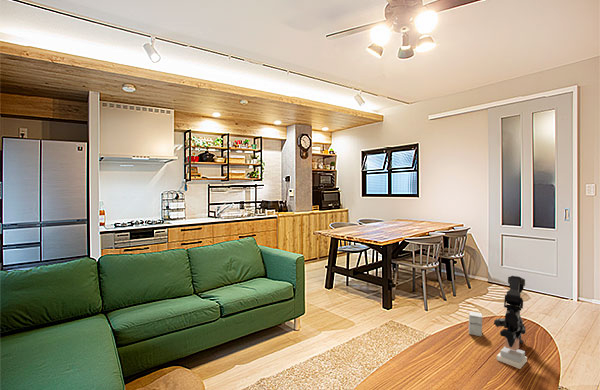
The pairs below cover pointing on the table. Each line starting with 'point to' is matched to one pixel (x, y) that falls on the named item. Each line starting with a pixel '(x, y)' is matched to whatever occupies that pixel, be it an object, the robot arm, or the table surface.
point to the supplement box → (475, 323)
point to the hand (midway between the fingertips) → (512, 345)
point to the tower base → (511, 362)
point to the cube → (515, 345)
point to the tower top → (512, 354)
